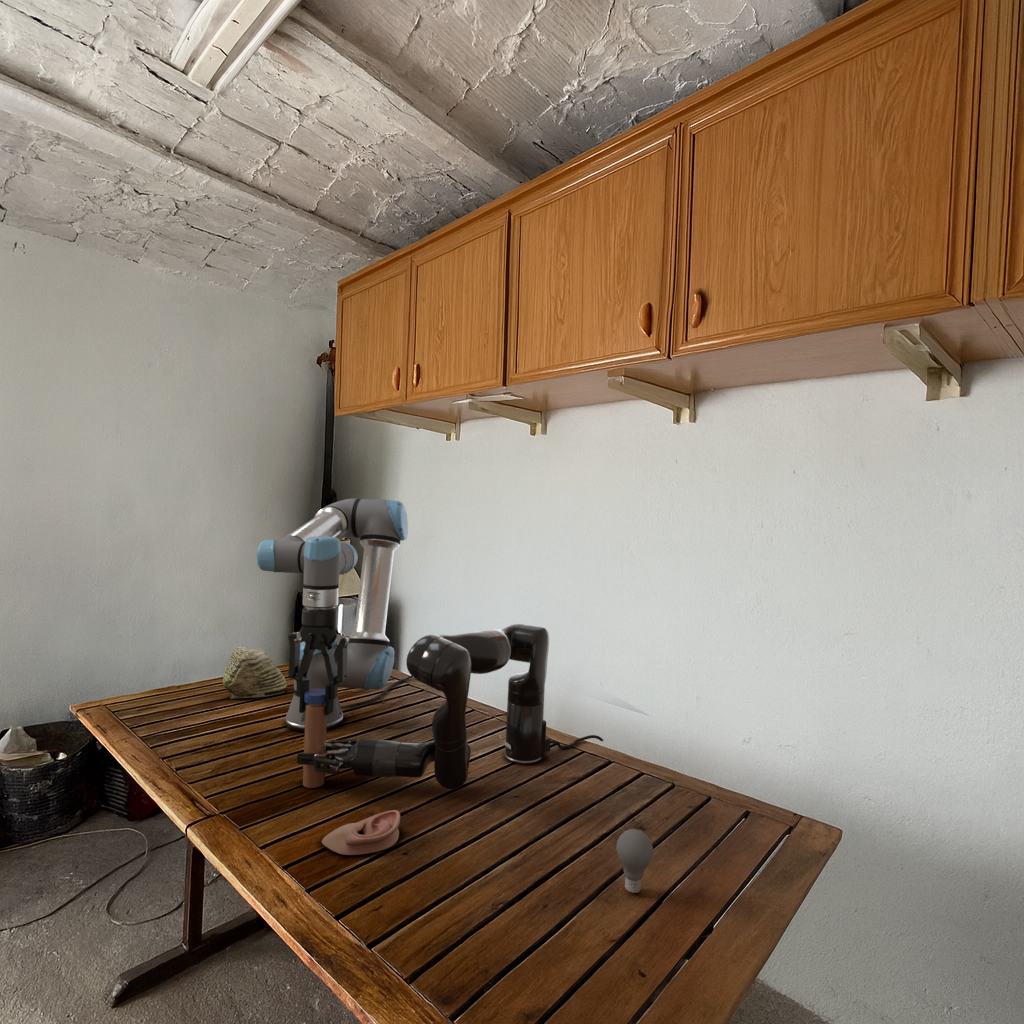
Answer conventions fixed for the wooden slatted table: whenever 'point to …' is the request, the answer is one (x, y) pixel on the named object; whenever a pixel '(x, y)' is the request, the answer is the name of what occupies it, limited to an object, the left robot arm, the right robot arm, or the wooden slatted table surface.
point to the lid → (314, 696)
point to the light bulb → (634, 857)
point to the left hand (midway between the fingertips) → (316, 711)
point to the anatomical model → (365, 835)
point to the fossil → (252, 674)
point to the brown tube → (314, 742)
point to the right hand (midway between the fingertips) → (302, 753)
